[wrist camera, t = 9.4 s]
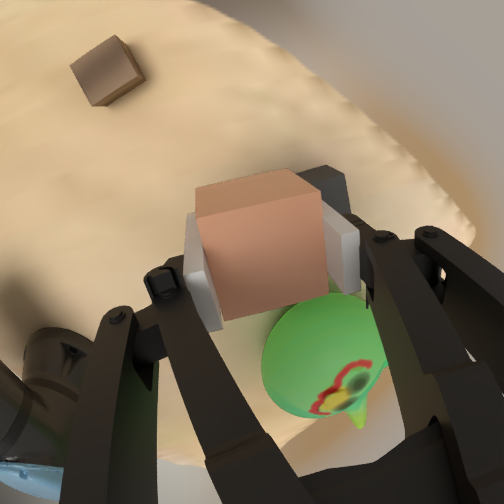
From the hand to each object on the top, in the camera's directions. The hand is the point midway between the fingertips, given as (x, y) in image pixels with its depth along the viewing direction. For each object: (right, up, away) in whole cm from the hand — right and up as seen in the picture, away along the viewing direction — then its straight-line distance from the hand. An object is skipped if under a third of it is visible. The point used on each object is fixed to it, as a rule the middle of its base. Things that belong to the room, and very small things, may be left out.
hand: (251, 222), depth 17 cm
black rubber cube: (+7, +6, +19) cm, 21 cm away
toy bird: (+9, -12, +28) cm, 32 cm away
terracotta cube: (0, 0, 0) cm, 0 cm away
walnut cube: (-14, +17, +9) cm, 24 cm away
